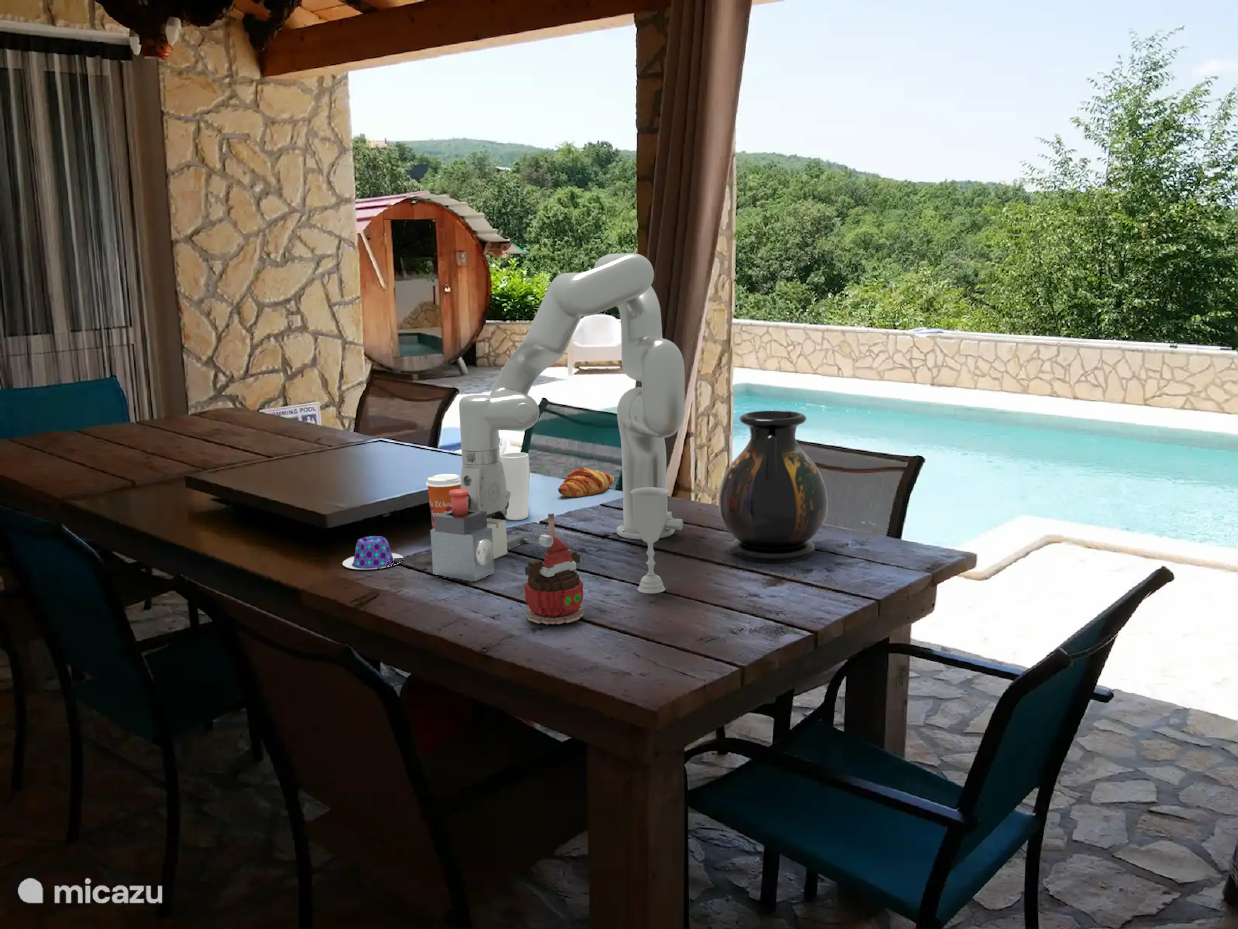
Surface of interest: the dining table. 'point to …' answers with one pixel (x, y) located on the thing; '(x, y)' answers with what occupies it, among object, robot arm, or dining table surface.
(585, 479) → the croissant
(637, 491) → the chalice
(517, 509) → the drinking glass
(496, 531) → the white taped box
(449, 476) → the paper cup
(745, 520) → the black painted vase
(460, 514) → the button
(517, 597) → the dining table surface
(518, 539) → the rail
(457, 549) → the cabinet
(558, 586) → the christmas candy apple
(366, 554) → the purple patterned hat
